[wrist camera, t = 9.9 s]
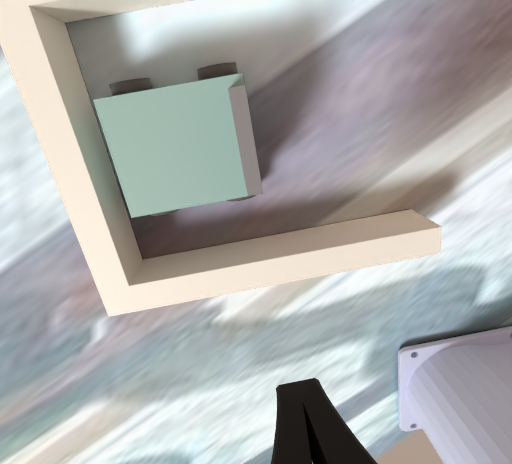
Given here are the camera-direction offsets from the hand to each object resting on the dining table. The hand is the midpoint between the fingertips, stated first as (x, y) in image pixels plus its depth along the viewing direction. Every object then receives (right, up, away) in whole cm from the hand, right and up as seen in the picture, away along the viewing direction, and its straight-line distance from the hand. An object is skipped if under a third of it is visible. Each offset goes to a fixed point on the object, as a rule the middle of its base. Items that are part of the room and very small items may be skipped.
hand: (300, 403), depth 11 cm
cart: (-5, +10, +6) cm, 13 cm away
